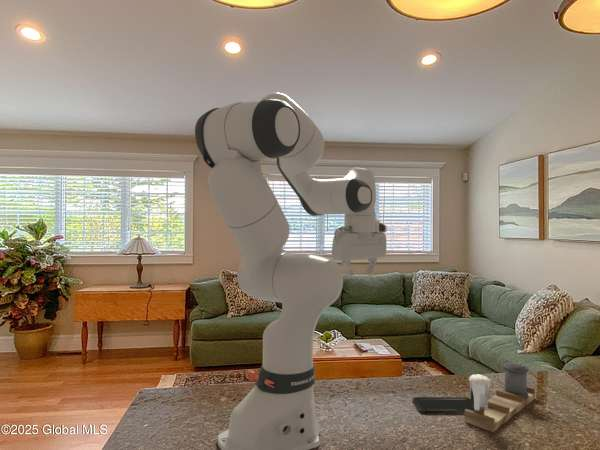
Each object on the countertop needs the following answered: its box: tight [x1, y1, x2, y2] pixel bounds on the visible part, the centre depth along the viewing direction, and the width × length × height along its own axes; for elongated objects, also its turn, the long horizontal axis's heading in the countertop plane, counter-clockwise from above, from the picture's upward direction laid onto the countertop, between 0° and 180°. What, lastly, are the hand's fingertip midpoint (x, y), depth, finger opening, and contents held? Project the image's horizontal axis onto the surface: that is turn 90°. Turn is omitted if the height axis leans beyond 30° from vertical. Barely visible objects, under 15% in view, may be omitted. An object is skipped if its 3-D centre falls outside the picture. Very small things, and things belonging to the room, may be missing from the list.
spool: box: [502, 362, 529, 398], centre depth 107 cm, size 6×6×7 cm
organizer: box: [464, 385, 536, 433], centre depth 101 cm, size 26×6×3 cm, turn 132°
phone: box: [412, 396, 472, 415], centre depth 102 cm, size 8×1×15 cm
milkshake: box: [468, 371, 495, 416], centre depth 95 cm, size 4×5×10 cm
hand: (359, 275), depth 116 cm, fingers open, 8 cm apart
